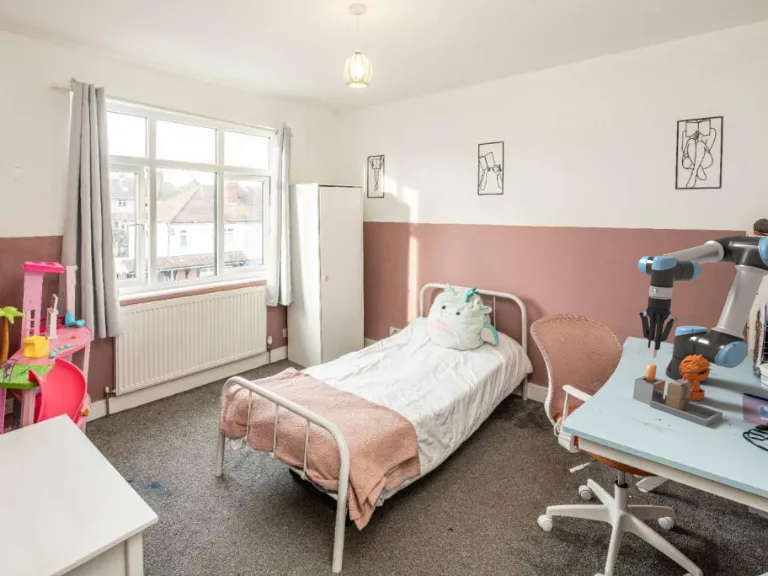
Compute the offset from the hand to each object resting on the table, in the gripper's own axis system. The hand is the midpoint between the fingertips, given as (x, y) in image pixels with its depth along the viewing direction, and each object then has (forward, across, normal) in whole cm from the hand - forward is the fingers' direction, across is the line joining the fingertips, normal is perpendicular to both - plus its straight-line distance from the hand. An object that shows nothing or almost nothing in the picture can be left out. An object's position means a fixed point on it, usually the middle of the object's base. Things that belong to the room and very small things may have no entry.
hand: (652, 357), depth 179 cm
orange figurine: (+18, +8, +16) cm, 25 cm away
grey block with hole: (+17, 0, 0) cm, 17 cm away
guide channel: (+17, +13, 0) cm, 22 cm away
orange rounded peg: (+9, 0, 0) cm, 9 cm away
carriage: (+17, +11, 0) cm, 20 cm away
